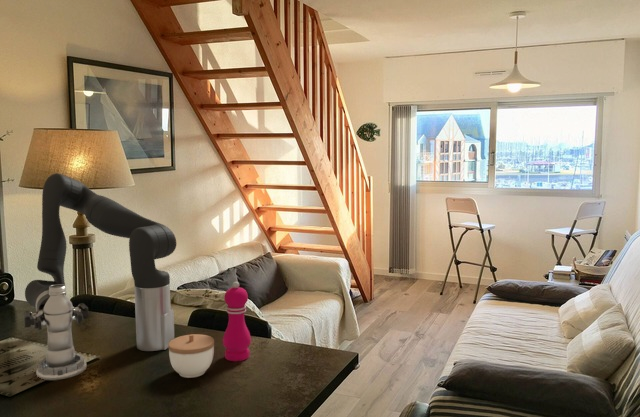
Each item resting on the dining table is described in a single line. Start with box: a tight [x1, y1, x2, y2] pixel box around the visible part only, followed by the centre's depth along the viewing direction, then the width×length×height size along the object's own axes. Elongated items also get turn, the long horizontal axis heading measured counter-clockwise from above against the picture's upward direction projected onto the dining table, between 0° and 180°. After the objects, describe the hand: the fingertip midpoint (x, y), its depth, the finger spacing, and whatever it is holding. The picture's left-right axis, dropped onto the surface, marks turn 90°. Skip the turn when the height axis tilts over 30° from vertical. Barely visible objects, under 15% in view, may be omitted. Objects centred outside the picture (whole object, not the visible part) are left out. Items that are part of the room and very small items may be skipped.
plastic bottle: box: [44, 284, 76, 368], centre depth 128 cm, size 6×7×20 cm
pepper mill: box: [222, 281, 252, 362], centre depth 137 cm, size 7×7×20 cm
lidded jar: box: [167, 333, 215, 379], centre depth 127 cm, size 11×11×9 cm
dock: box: [35, 352, 87, 381], centre depth 129 cm, size 11×11×2 cm
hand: (60, 322), depth 126 cm, fingers open, 8 cm apart
